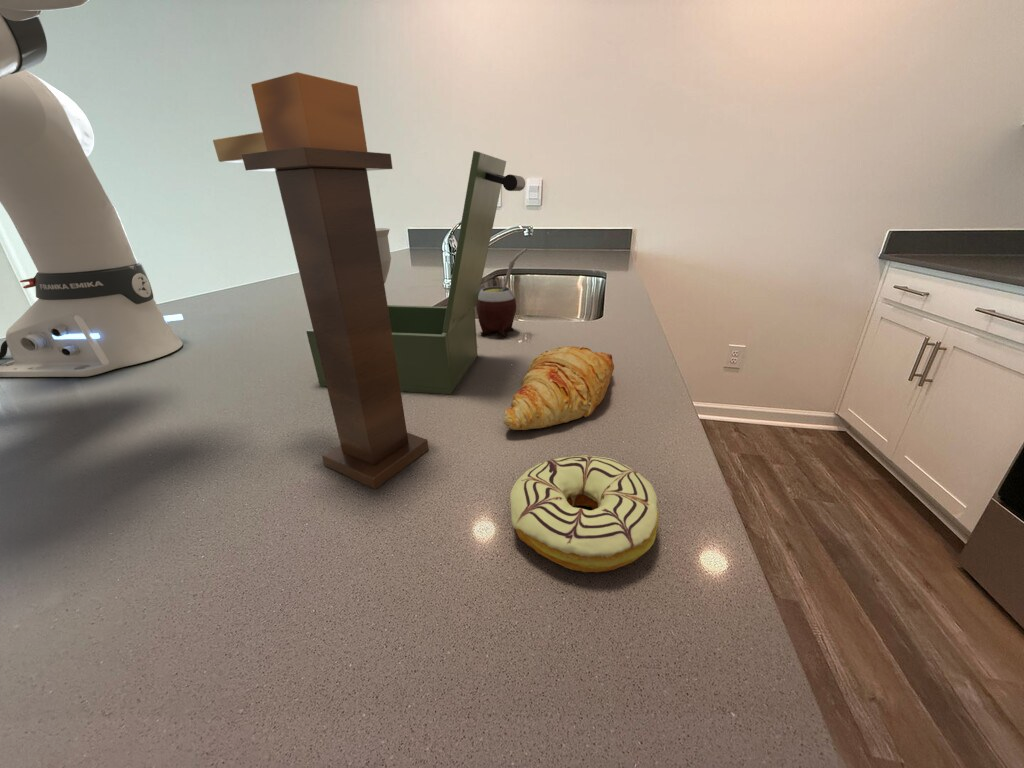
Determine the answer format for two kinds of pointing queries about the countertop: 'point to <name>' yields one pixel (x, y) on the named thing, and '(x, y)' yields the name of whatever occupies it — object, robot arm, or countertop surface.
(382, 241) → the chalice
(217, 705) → the countertop surface
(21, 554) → the countertop surface
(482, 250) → the bin lid
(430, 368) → the bin
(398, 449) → the pedestal stand
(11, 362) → the robot arm
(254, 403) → the countertop surface
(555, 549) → the decorated donut
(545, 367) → the croissant
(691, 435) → the countertop surface
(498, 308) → the mate gourd
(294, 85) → the brown piece
